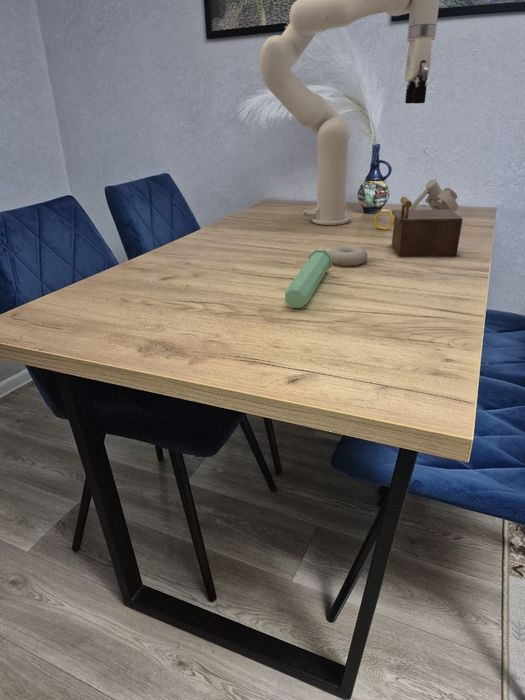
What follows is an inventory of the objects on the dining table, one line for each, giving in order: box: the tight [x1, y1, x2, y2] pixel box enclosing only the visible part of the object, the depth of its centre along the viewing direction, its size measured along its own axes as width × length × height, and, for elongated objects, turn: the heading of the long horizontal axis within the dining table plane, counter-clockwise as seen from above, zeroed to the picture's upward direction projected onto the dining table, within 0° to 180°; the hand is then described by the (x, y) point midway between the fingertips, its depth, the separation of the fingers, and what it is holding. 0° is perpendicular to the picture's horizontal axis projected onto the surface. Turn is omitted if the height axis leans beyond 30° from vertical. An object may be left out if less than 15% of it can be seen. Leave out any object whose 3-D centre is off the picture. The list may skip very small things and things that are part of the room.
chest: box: [391, 216, 463, 258], centre depth 125 cm, size 15×12×9 cm
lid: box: [391, 196, 464, 223], centre depth 122 cm, size 15×12×5 cm
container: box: [284, 248, 333, 309], centre depth 103 cm, size 6×6×25 cm
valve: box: [409, 179, 460, 213], centre depth 158 cm, size 10×20×15 cm
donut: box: [327, 244, 368, 267], centre depth 120 cm, size 10×4×10 cm
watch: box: [373, 208, 395, 231], centre depth 148 cm, size 6×3×6 cm, turn 62°
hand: (414, 103), depth 140 cm, fingers open, 9 cm apart
